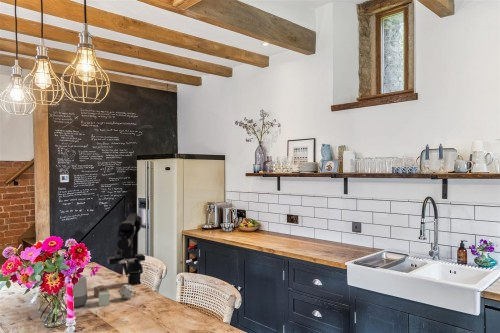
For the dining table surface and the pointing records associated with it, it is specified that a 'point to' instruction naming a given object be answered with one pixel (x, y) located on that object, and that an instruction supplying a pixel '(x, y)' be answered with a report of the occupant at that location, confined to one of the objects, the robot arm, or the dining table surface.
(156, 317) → the dining table surface
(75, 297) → the smart speaker
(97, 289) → the walnut cube
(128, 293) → the game die
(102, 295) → the sage block
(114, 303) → the dining table surface
